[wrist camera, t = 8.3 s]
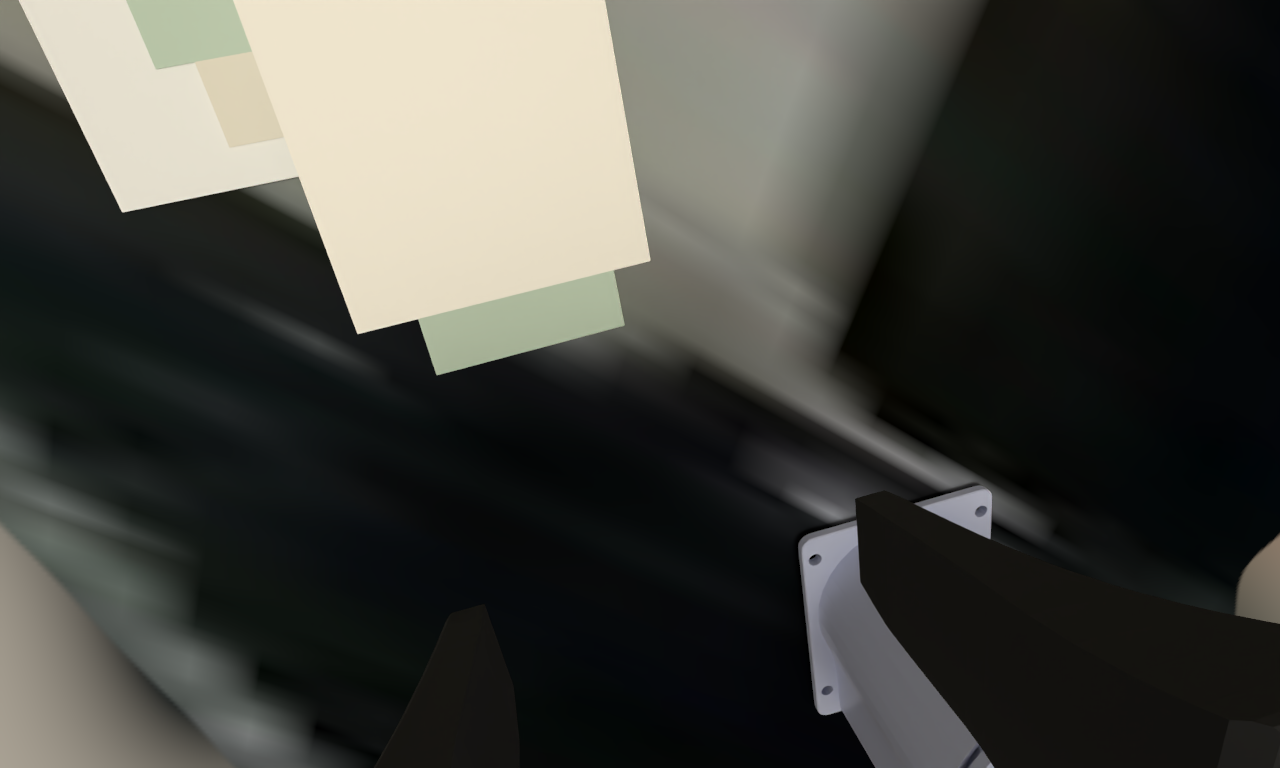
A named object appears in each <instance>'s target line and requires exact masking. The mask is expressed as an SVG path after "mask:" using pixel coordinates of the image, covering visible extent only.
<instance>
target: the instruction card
mask: <svg viewBox="0 0 1280 768" xmlns="http://www.w3.org/2000/svg"><path fill="white" fill-rule="evenodd" d="M19 2H20V4H21V6H22V8H23V10H24V12H25V14H26V16H27V18H28V20H29V22H30V24H31V26H32V28H33V30H34V32H35V34H36V37H37V39H38V41H39V43H40V45H41V47H42V49H43V51H44V53H45V55H46V57H47V59H48V61H49V63H50V65H51V67H52V69H53V71H54V73H55V75H56V77H57V80H58V82H59V84H60V86H61V88H62V90H63V92H64V94H65V96H66V98H67V100H68V102H69V104H70V106H71V108H72V110H73V112H74V114H75V116H76V118H77V121H78V123H79V125H80V127H81V129H82V131H83V133H84V135H85V137H86V139H87V141H88V143H89V145H90V147H91V149H92V151H93V153H94V155H95V157H96V159H97V162H98V164H99V166H100V168H101V170H102V172H103V174H104V176H105V178H106V180H107V182H108V184H109V186H110V188H111V190H112V192H113V194H114V196H115V198H116V200H117V203H118V205H119V207H120V209H121V211H122V212H127V211H132V210H137V209H142V208H147V207H152V206H157V205H162V204H167V203H171V202H176V201H181V200H186V199H191V198H196V197H201V196H206V195H211V194H216V193H220V192H225V191H230V190H235V189H240V188H245V187H250V186H255V185H260V184H265V183H269V182H274V181H279V180H284V179H289V178H294V177H299V176H298V173H297V170H296V168H295V165H294V162H293V160H292V157H291V154H290V152H289V149H288V146H287V144H286V141H285V138H284V136H283V133H282V130H281V128H280V125H279V122H278V120H277V117H276V114H275V112H274V109H273V106H272V103H271V101H270V98H269V95H268V93H267V90H266V87H265V85H264V82H263V79H262V77H261V74H260V71H259V69H258V66H257V63H256V61H255V58H254V55H253V53H252V50H251V47H250V45H249V42H248V39H247V36H246V34H245V31H244V28H243V26H242V23H241V20H240V18H239V15H238V12H237V10H236V7H235V4H234V2H233V0H19Z"/></svg>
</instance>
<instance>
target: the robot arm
mask: <svg viewBox="0 0 1280 768" xmlns="http://www.w3.org/2000/svg"><path fill="white" fill-rule="evenodd" d="M855 502H856V518H857V520H855V521H851V522H848V523H845V524H841V525H838V526H834V527H831V528H827V529H824V530H820V531H817V532H813V533H810V534H807V535H805V536H804V537H803V538H802V539H801V540H800V542H799V545H798V551H799V561H800V570H801V580H802V590H803V599H804V609H805V618H806V628H807V638H808V647H809V657H810V666H811V676H812V686H813V695H814V704H815V707H816V709H817V710H818V712H819V713H820V714H822V715H829V714H832V713H835V712H839V711H843V713H844V715H845V716H846V718H847V720H848V722H849V723H850V725H851V727H852V728H853V730H854V732H855V734H856V735H857V737H858V739H859V740H860V742H861V744H862V746H863V747H864V749H865V751H866V752H867V754H868V756H869V757H870V759H871V761H872V763H873V764H874V766H875V768H1280V624H1277V623H1271V622H1266V621H1261V620H1256V619H1251V618H1246V617H1240V616H1236V615H1231V614H1225V613H1220V612H1216V611H1211V610H1207V609H1203V608H1198V607H1194V606H1189V605H1185V604H1181V603H1177V602H1173V601H1169V600H1166V599H1162V598H1158V597H1154V596H1150V595H1146V594H1142V593H1139V592H1135V591H1132V590H1128V589H1125V588H1121V587H1118V586H1115V585H1111V584H1108V583H1105V582H1102V581H1099V580H1096V579H1093V578H1090V577H1087V576H1084V575H1081V574H1078V573H1075V572H1072V571H1069V570H1066V569H1063V568H1060V567H1058V566H1055V565H1052V564H1049V563H1047V562H1044V561H1042V560H1039V559H1037V558H1034V557H1032V556H1029V555H1027V554H1024V553H1022V552H1019V551H1017V550H1014V549H1012V548H1009V547H1007V546H1005V545H1002V544H1000V543H998V542H995V541H993V540H991V539H990V538H991V513H992V494H991V492H990V491H989V490H988V489H987V488H985V487H984V486H981V485H978V486H973V487H970V488H966V489H963V490H959V491H956V492H952V493H949V494H945V495H942V496H938V497H935V498H931V499H928V500H924V501H921V502H918V503H912V502H909V501H907V500H905V499H903V498H901V497H899V496H896V495H894V494H892V493H890V492H887V491H885V490H884V491H881V492H877V493H874V494H870V495H867V496H863V497H860V498H856V499H855ZM978 507H979V509H978V510H976V509H977V508H978ZM814 554H817V555H816V556H815V557H814V558H813V559H810V557H811V556H813V555H814ZM374 768H519V733H518V723H517V713H516V704H515V696H514V687H513V683H512V680H511V678H510V675H509V672H508V669H507V666H506V664H505V661H504V658H503V655H502V652H501V649H500V647H499V644H498V641H497V638H496V635H495V632H494V630H493V627H492V624H491V621H490V618H489V616H488V613H487V610H486V607H485V604H483V605H479V606H476V607H472V608H469V609H465V610H462V611H458V612H455V613H451V614H450V616H449V617H448V619H447V620H446V623H445V625H444V627H443V630H442V632H441V635H440V637H439V639H438V642H437V644H436V646H435V649H434V651H433V653H432V655H431V658H430V660H429V662H428V664H427V667H426V669H425V671H424V673H423V675H422V678H421V680H420V682H419V684H418V686H417V688H416V690H415V692H414V694H413V696H412V698H411V700H410V702H409V704H408V706H407V708H406V710H405V712H404V714H403V716H402V718H401V720H400V722H399V724H398V726H397V727H396V729H395V731H394V733H393V735H392V737H391V738H390V740H389V742H388V744H387V746H386V747H385V749H384V751H383V753H382V755H381V756H380V758H379V760H378V762H377V764H376V765H375V767H374Z"/></svg>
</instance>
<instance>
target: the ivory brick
mask: <svg viewBox="0 0 1280 768" xmlns="http://www.w3.org/2000/svg"><path fill="white" fill-rule="evenodd" d="M233 2H234V4H235V7H236V10H237V12H238V15H239V18H240V20H241V23H242V26H243V28H244V31H245V34H246V36H247V39H248V42H249V45H250V47H251V50H252V53H253V55H254V58H255V61H256V63H257V66H258V69H259V71H260V74H261V77H262V79H263V82H264V85H265V87H266V90H267V93H268V95H269V98H270V101H271V103H272V106H273V109H274V112H275V114H276V117H277V120H278V122H279V125H280V128H281V130H282V133H283V136H284V138H285V141H286V144H287V146H288V149H289V152H290V154H291V157H292V160H293V162H294V165H295V168H296V170H297V173H298V176H299V179H300V181H301V184H302V187H303V189H304V192H305V195H306V197H307V200H308V203H309V205H310V208H311V211H312V213H313V216H314V219H315V221H316V224H317V227H318V229H319V232H320V235H321V237H322V240H323V243H324V245H325V248H326V251H327V254H328V256H329V259H330V262H331V264H332V267H333V270H334V272H335V275H336V278H337V280H338V283H339V286H340V288H341V291H342V294H343V296H344V299H345V302H346V304H347V307H348V310H349V312H350V315H351V318H352V321H353V323H354V326H355V329H356V331H357V334H360V333H364V332H368V331H372V330H376V329H380V328H384V327H388V326H392V325H396V324H400V323H404V322H408V321H412V320H416V319H420V318H424V317H428V316H432V315H436V314H440V313H444V312H448V311H452V310H456V309H460V308H464V307H468V306H472V305H476V304H480V303H484V302H488V301H492V300H496V299H500V298H504V297H508V296H512V295H516V294H520V293H524V292H528V291H532V290H536V289H540V288H544V287H548V286H552V285H556V284H560V283H564V282H568V281H572V280H576V279H580V278H584V277H588V276H592V275H596V274H600V273H604V272H608V271H612V270H616V269H620V268H624V267H628V266H632V265H636V264H640V263H644V262H648V261H651V260H650V254H649V249H648V243H647V237H646V232H645V226H644V220H643V215H642V209H641V203H640V198H639V192H638V186H637V180H636V175H635V169H634V163H633V158H632V152H631V146H630V141H629V135H628V129H627V124H626V118H625V112H624V106H623V101H622V95H621V89H620V84H619V78H618V72H617V67H616V61H615V55H614V50H613V44H612V38H611V33H610V27H609V21H608V15H607V10H606V4H605V0H233Z"/></svg>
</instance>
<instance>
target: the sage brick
mask: <svg viewBox="0 0 1280 768" xmlns="http://www.w3.org/2000/svg"><path fill="white" fill-rule="evenodd" d="M418 320H419V323H420V326H421V330H422V333H423V336H424V339H425V342H426V345H427V348H428V351H429V354H430V357H431V360H432V363H433V366H434V369H435V372H436V375H440V374H444V373H448V372H451V371H455V370H459V369H463V368H466V367H470V366H474V365H478V364H482V363H485V362H489V361H493V360H497V359H500V358H504V357H508V356H512V355H516V354H519V353H523V352H527V351H531V350H534V349H538V348H542V347H546V346H549V345H553V344H557V343H561V342H565V341H568V340H572V339H576V338H580V337H583V336H587V335H591V334H595V333H599V332H602V331H606V330H610V329H614V328H617V327H621V326H625V324H624V319H623V314H622V309H621V304H620V299H619V294H618V289H617V284H616V279H615V274H614V270H612V271H608V272H604V273H600V274H596V275H592V276H588V277H584V278H580V279H576V280H572V281H568V282H564V283H560V284H556V285H552V286H548V287H544V288H540V289H536V290H532V291H528V292H524V293H520V294H516V295H512V296H508V297H504V298H500V299H496V300H492V301H488V302H484V303H480V304H476V305H472V306H468V307H464V308H460V309H456V310H452V311H448V312H444V313H440V314H436V315H432V316H428V317H424V318H420V319H418Z"/></svg>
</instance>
